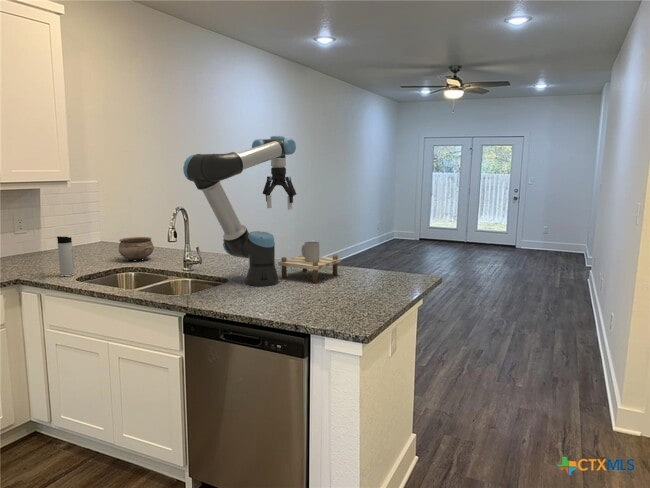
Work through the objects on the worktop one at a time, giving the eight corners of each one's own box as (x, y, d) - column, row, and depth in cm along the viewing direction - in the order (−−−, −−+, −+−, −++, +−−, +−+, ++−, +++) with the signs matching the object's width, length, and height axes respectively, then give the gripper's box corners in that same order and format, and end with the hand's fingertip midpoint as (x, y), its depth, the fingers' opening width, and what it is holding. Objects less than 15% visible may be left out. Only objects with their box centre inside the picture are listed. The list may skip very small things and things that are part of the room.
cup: (313, 262, 238) (313, 244, 236) (297, 260, 244) (297, 242, 242) (322, 260, 243) (322, 242, 242) (306, 258, 249) (306, 240, 248)
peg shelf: (316, 283, 230) (316, 262, 228) (278, 278, 241) (278, 257, 240) (340, 274, 248) (340, 255, 247) (303, 270, 260) (303, 251, 258)
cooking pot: (108, 260, 286) (107, 239, 284) (136, 255, 302) (134, 235, 300) (138, 265, 274) (136, 243, 272) (164, 259, 290) (163, 238, 288)
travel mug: (57, 276, 246) (53, 236, 243) (69, 273, 252) (65, 234, 249) (65, 277, 243) (61, 237, 240) (77, 275, 249) (74, 235, 246)
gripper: (302, 166, 249) (303, 209, 253) (264, 166, 263) (265, 207, 266) (293, 167, 243) (294, 210, 247) (255, 167, 257) (256, 208, 260)
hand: (279, 208), depth 257 cm, fingers open, 13 cm apart
